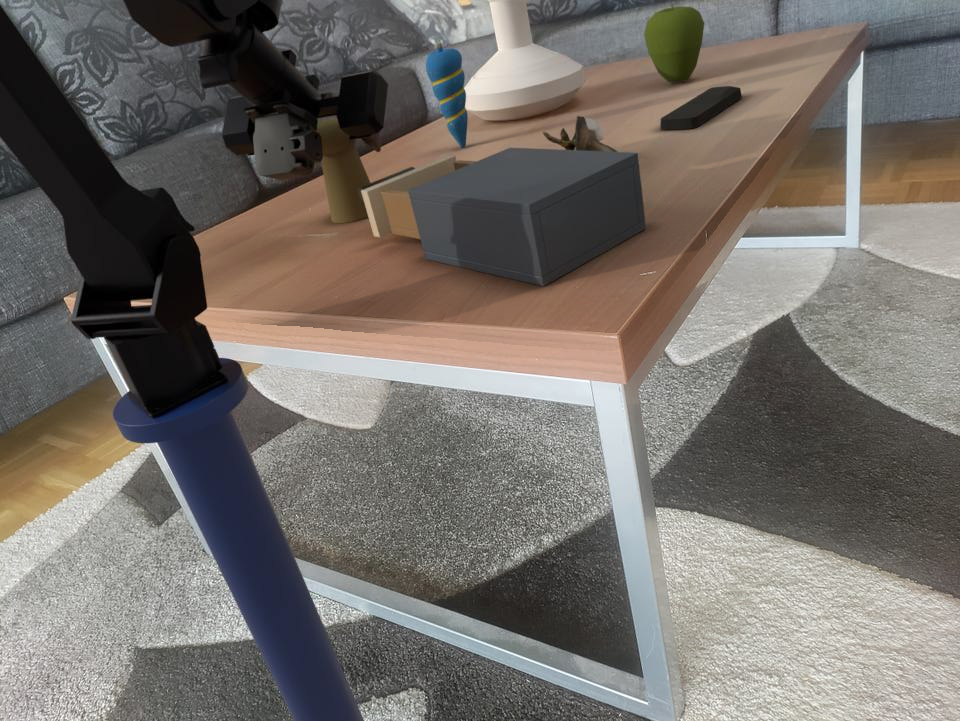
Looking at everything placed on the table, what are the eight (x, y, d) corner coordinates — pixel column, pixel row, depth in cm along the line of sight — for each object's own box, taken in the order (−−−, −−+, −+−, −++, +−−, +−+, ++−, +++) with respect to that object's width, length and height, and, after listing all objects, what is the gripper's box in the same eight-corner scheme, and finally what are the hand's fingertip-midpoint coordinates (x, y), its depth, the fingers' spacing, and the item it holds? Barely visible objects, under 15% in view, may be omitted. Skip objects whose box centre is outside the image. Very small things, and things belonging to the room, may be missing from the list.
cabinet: (425, 259, 70) (407, 190, 67) (522, 212, 76) (510, 147, 73) (543, 286, 58) (528, 204, 55) (646, 228, 65) (637, 152, 62)
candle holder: (563, 120, 111) (540, -24, 102) (446, 134, 120) (416, 4, 111) (604, 89, 126) (587, -39, 117) (497, 104, 135) (474, -13, 126)
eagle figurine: (532, 167, 86) (565, 164, 78) (550, 105, 85) (585, 95, 77) (589, 187, 89) (627, 187, 80) (607, 127, 88) (647, 120, 79)
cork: (348, 225, 85) (318, 127, 80) (322, 220, 90) (292, 127, 85) (390, 207, 88) (365, 111, 83) (363, 203, 93) (337, 112, 88)
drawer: (349, 231, 80) (336, 187, 78) (432, 195, 86) (422, 153, 83) (463, 255, 66) (450, 202, 63) (553, 210, 71) (545, 160, 69)
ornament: (487, 142, 109) (464, 31, 102) (462, 153, 106) (437, 40, 99) (462, 142, 112) (438, 35, 105) (437, 153, 109) (412, 44, 102)
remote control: (695, 133, 91) (744, 96, 100) (694, 118, 90) (743, 82, 99) (658, 134, 94) (708, 98, 103) (656, 120, 93) (707, 85, 102)
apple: (639, 90, 119) (631, 12, 114) (670, 77, 123) (664, 1, 118) (686, 88, 113) (680, 5, 107) (717, 74, 117) (713, -7, 112)
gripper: (170, 160, 74) (267, 225, 88) (333, 133, 68) (410, 209, 82) (189, 61, 77) (280, 140, 91) (347, 27, 70) (419, 118, 84)
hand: (344, 153), depth 87 cm, fingers open, 9 cm apart
